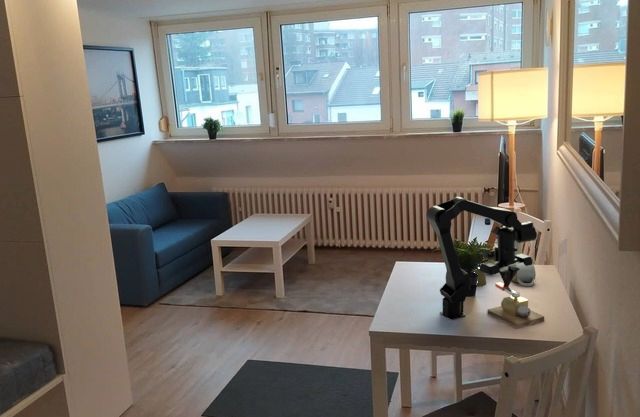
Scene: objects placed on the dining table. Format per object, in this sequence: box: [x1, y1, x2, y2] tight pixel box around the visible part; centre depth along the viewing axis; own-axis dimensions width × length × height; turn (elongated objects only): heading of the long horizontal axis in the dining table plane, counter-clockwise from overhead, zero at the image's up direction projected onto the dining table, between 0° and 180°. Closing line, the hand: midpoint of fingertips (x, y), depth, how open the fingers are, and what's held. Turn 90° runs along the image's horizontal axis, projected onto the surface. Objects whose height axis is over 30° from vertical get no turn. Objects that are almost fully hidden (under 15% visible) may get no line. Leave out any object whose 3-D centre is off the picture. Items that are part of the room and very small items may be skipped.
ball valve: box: [500, 295, 531, 318], centre depth 197 cm, size 6×10×6 cm, turn 25°
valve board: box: [486, 305, 545, 329], centre depth 198 cm, size 12×14×2 cm
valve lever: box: [494, 282, 521, 298], centre depth 201 cm, size 12×3×1 cm, turn 15°
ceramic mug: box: [512, 262, 537, 288], centre depth 229 cm, size 11×8×8 cm
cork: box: [474, 269, 487, 287], centre depth 230 cm, size 6×6×11 cm
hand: (506, 287), depth 205 cm, fingers closed
